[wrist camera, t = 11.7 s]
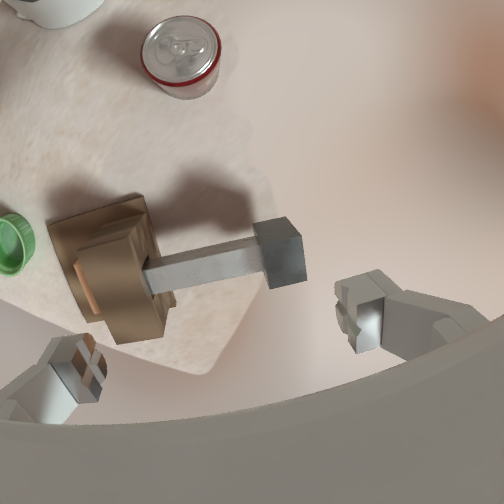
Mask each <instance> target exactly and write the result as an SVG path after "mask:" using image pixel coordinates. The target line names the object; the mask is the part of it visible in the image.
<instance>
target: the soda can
mask: <svg viewBox="0 0 504 504" xmlns="http://www.w3.org/2000/svg"><path fill="white" fill-rule="evenodd" d="M220 56H221V40H220V37H219V35H218V33H217V31H216V30H215V28H214V27H213V26H212V25H211V24H209V23H208V22H206V21H205V20H203V19H200V18H198V17H193V16H176V17H172V18H169V19H166V20H164V21H162V22H160V23H159V24H157V25H156V26H155V27H153V28H152V29H151V31H150V32H149V33H148V34H147V36H146V37H145V39H144V41H143V43H142V46H141V51H140V61H141V64H142V68H143V69H144V71H145V73H146V74H147V75H148V76H149V77H150V78H151V79H152V80H153V81H154V82H155V83H157V84H158V85H159V86H160V87H161V88H162V89H163V90H165V91H166V92H167V93H168V94H170V95H171V96H173V97H175V98H178V99H182V100H190V99H196V98H199V97H201V96H203V95H205V94H206V93H207V92H209V91H210V90H211V89H212V87H213V86H214V85H215V83H216V81H217V78H218V74H219V65H220Z"/></svg>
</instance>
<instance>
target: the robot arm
mask: <svg viewBox="0 0 504 504" xmlns="http://www.w3.org/2000/svg"><path fill="white" fill-rule="evenodd" d="M4 1H5V2H7V3H8V4H9V5H11V6H12V7H13V8H15V9H16V10H17V16H18V17H19V18H20V19H24V20H32V21H34V22H35V23H36V24H37V25H39V26H40V27H43V28H46V29H58V28H63V27H66V26H69V25H72V24H74V23H76V22H78V21H80V20H82V19H83V18H85V17H87V16H88V15H89V14H91V13H92V12H93V11H95V10H96V9H97V8H98V7H99V6H100V5H101V4H102V3H103V2H104V1H105V0H4ZM334 288H335V295H336V296H337V298H338V299H339V300H338V302H337V304H336V316H337V320H338V324H339V326H340V328H341V330H342V332H343V333H345V334H348V342H349V343H350V345H351V346H352V348H353V349H354V351H355V353H356V354H358V353H362V352H365V351H369V350H372V349H375V348H378V347H381V348H383V349H385V350H387V351H389V352H391V353H393V354H395V355H397V356H399V357H401V358H402V359H404V360H406V361H407V362H404V363H402V364H399V365H397V366H394V367H392V368H389V369H386V370H384V371H381V372H378V373H375V374H373V375H370V376H367V377H364V378H361V379H358V380H355V381H352V382H349V383H346V384H343V385H340V386H336V387H333V388H330V389H326V390H323V391H319V392H316V393H313V394H309V395H305V396H301V397H297V398H293V399H290V400H285V401H281V402H277V403H273V404H268V405H264V406H259V407H254V408H249V409H244V410H239V411H233V412H228V413H222V414H216V415H209V416H202V417H196V418H188V419H180V420H171V421H160V422H149V423H136V424H135V423H134V424H112V425H65V424H63V422H64V421H65V420H66V419H67V418H68V416H69V415H70V414H71V413H72V412H73V410H74V409H75V408H76V407H77V406H78V404H80V403H95V402H98V401H99V397H100V394H101V391H102V387H101V385H100V384H101V383H102V382H103V381H104V380H105V379H106V375H107V364H106V361H105V358H104V357H103V354H102V353H101V352H100V351H98V350H97V349H95V347H96V342H95V340H94V338H93V336H92V335H91V334H89V333H83V334H75V335H67V336H60V337H55V338H52V339H51V341H50V343H49V345H48V346H47V348H46V349H45V351H44V353H43V354H42V356H41V358H40V359H39V361H38V363H37V364H36V365H33V366H31V367H30V368H29V369H28V370H26V371H25V372H23V373H22V374H21V375H19V376H18V377H17V378H16V379H14V380H13V381H12V382H10V383H9V384H8V385H6V386H5V387H4V388H3V389H1V390H0V504H504V314H503V315H502V316H500V317H498V318H496V319H495V320H493V321H491V322H490V321H489V320H487V319H486V318H485V317H484V316H483V315H481V314H480V313H479V312H478V311H477V310H476V309H474V308H473V307H472V306H471V305H467V304H463V303H459V302H455V301H450V300H447V299H443V298H439V297H435V296H431V295H427V294H422V293H418V292H414V291H410V290H405V291H403V290H402V289H401V288H399V287H398V286H397V285H396V284H395V283H394V282H393V281H392V280H391V279H390V278H389V277H387V276H386V275H385V274H384V273H383V272H382V271H381V270H378V269H376V270H373V271H370V272H367V273H364V274H360V275H357V276H354V277H350V278H347V279H343V280H340V281H337V282H335V286H334Z"/></svg>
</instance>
